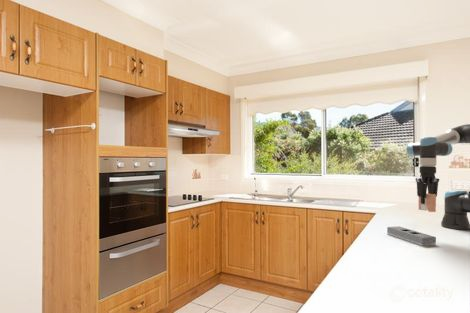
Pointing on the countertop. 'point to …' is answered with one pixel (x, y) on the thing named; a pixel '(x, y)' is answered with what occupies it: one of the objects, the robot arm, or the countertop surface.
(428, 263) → the countertop surface
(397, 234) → the rail
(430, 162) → the robot arm
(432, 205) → the tall peach block
